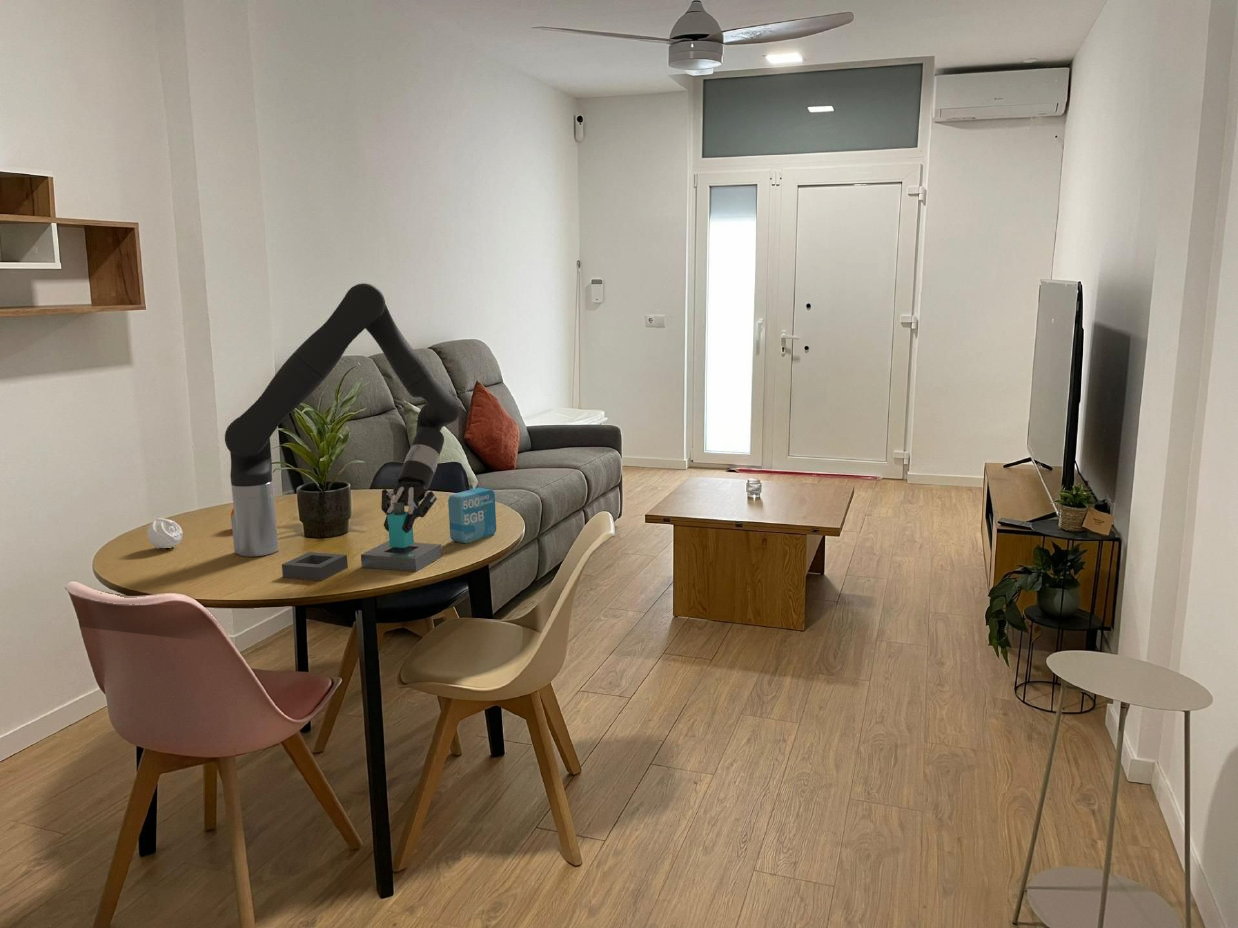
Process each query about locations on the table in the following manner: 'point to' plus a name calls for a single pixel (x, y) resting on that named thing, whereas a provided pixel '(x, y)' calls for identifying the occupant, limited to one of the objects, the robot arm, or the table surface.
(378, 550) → the port block
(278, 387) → the robot arm
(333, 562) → the holster
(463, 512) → the data package
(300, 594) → the table surface
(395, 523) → the plug
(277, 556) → the table surface
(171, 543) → the motion sensor
